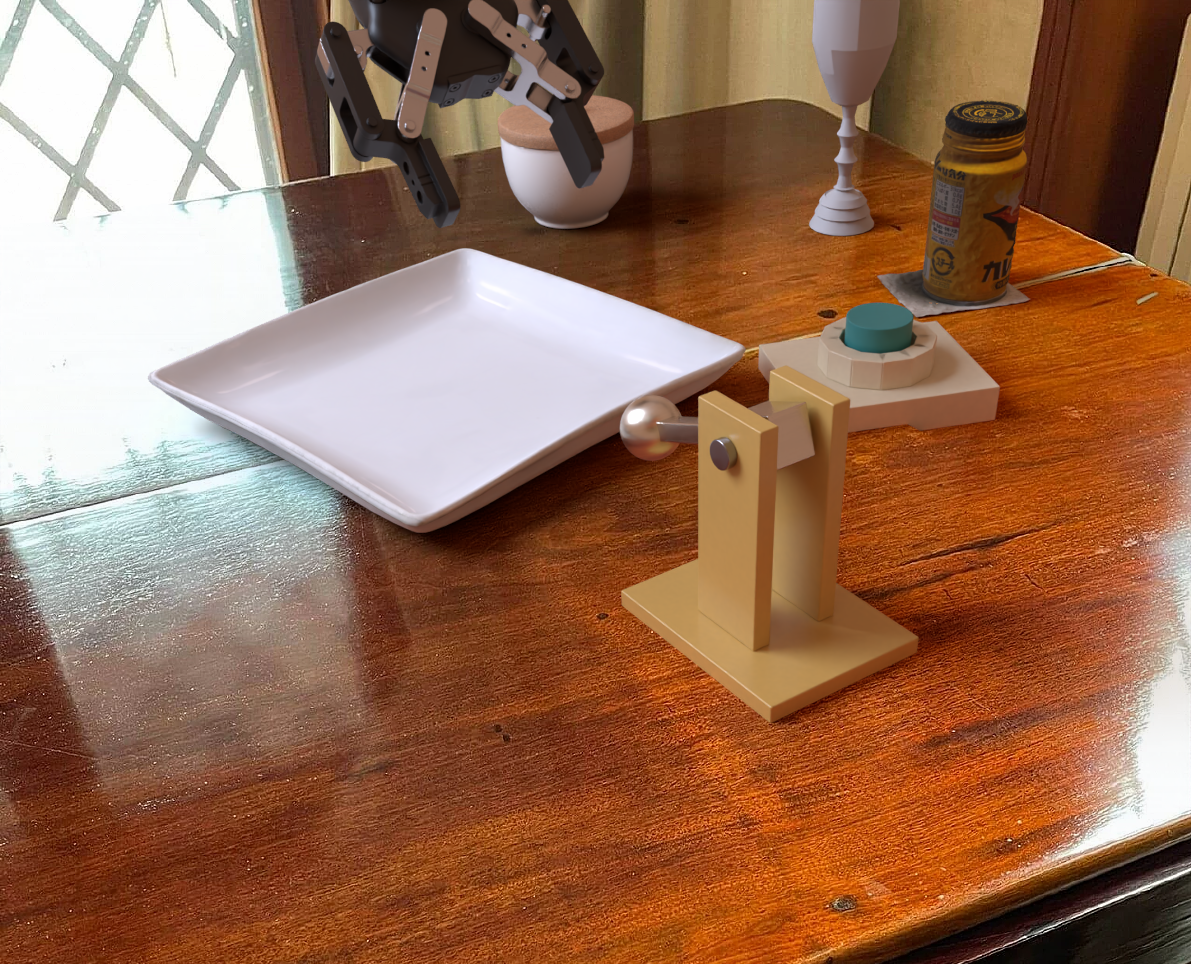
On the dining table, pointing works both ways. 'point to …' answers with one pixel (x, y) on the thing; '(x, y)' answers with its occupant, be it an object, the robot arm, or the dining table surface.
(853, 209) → the chalice
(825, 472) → the lever stand
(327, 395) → the square plate
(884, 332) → the button
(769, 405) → the tap lever
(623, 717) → the dining table surface
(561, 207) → the lidded sugar bowl
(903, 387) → the cream button base
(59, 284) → the dining table surface
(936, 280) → the condiment
